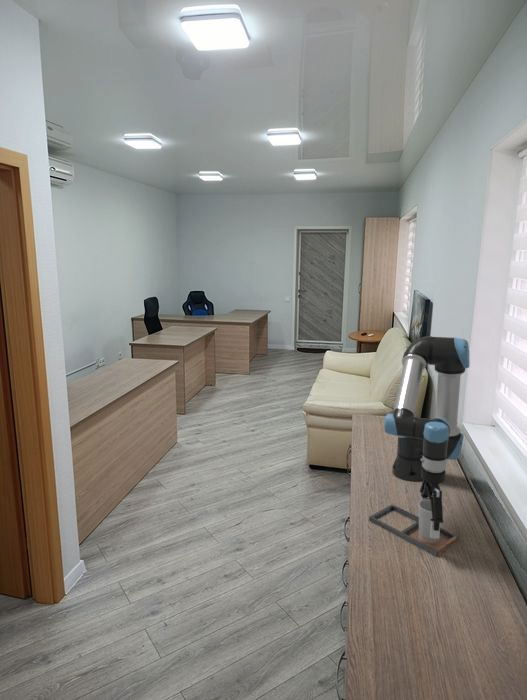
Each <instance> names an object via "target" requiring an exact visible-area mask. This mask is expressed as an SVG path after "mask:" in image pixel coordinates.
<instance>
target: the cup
mask: <svg viewBox="0 0 527 700" xmlns="http://www.w3.org/2000/svg"><path fill="white" fill-rule="evenodd" d="M442 511H443V512H444V506H443V505H442ZM418 517H419V527H418V530H419V538H420V539H421V540H422V541H424V542H426V543H436V542H437V541H438V539H437V538H430V531H431V520H430V519H432V509H431V500H422V501H421V500H420V501H419V502H418ZM441 524H442V523H440V525H441Z"/></svg>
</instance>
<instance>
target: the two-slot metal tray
mask: <svg viewBox="0 0 527 700" xmlns="http://www.w3.org/2000/svg"><path fill="white" fill-rule="evenodd" d="M390 511H394V512H396V513H397V514H400V515H402V516H404V517H407V518H408V519H411V520H412V521H415V522H414V523H413V524H411V525H409V526H408V527H406V528H405V529H403V530H402V531H400V530H398V529H397V528H396V527H393V526H391V525H389V524H387V523H385V522H384V521H382V520H381V519H380V520H379V518H380V517H382V516H384V515H386V514H387V513H389V512H390ZM368 521H369V522H372V523H373V524H375V525H377V526H379V527H380V528H382V529H384V530H386V531H388V532H390V533H392V534H394V535H395V536H397V537H399V538H401V539H403V540H405V541H407V542H408V543H410V544H412V545H413V546H416V547H418V548H419V549H421V550H422V551H425V552H427V553H429V554H431V555H433V556H434V557H437V556H439V555H441V554H442V553H443V552H444V551H446V550H447V549H449V548H450V547H451V546H452V545H454V544H455V543H457V542H458V541H459V538H460V537H459V535H457V534H454V533H453V532H450V531H449V530H447V529H444V528H442V527H440V535H439V539H438V541H437V542H436V543H426V542H424V541H422V540H421V539H420V538H419V516H417V515H415V514H413V513H410V512H408V511H407V510H405V509H402V508H401V507H398V506H396V505H394V504H390V505H388V506H386V507H384V508H383V509H380V510H379V511H377V512H375V513H373V514H371V515H370V516H368ZM416 529H417V530H416ZM411 532H412V533H411ZM410 533H411V534H410Z"/></svg>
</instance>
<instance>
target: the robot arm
mask: <svg viewBox="0 0 527 700" xmlns="http://www.w3.org/2000/svg"><path fill="white" fill-rule="evenodd" d="M469 348H470V346H469V342H468V340H466V339H464V338H458V337H443V336H429V335H428V336H427V335H426V336H423V337H420V338H418V339H416V340H415V341H413V342H412V343H410V345H409V346H408V347H407V348H406V349H405V351H404V353H403V355H402V359H401V365H402V370H401V376H400V379H399V385H398V388H397V393H396V398H395V402H394V406H393V407H394V408H393V412H392V413H387V414H386V415H385V418H384V422H383V430H384V432H385V434H388V435H391V436H396V437H397V451H396V453H397V454H396V457H395V460H394V462H393V464H392V468H391V469H392V471H391V473H392V475H394V476H395V477H397V478H399V479H401V480H403V481H409V482H420V481H422V482H421V485H420V489H419V492H420V496H421V500H420V501H422V500H431V509H432V519H430V520H431V531H430V538H437V539H439V535H441V533H440V528H441V524H443V523H444V517H443V516H444V515H443V514H444V510H443V511H442V506H443V499H442V498H443V491H442V490H441V488H440V486H439V485H440V484H442V483H444V482H445V481H446V469H447V460H453V461H456V460H458V459H459V458H460V454H461V450H462V447H463V443H464V437H465V436H464V434H463V433H461V429H460V427H459V426H458V417H459V416H458V414H459V405H460V404H459V403H460V401H459V400H460V389H461V375H463V374H464V373H466V369H469V368H470V363H471V362H470V349H469ZM427 365H429V366H431V365H432V366H434V370H435V372H436V373H437V384H436V385H437V386H436V388H437V390H436V405H435V406H436V407H435V417H433V418H431V419H430V418H424V417H423V418H422V417H418V416H417V417H415V414H416V413H415V412H416V408H417V407H416V406H417V404H418V397H419V392H420V388H421V381H422V376H423V371H424V370H425V369H426V367H427ZM440 523H441V524H440Z"/></svg>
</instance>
